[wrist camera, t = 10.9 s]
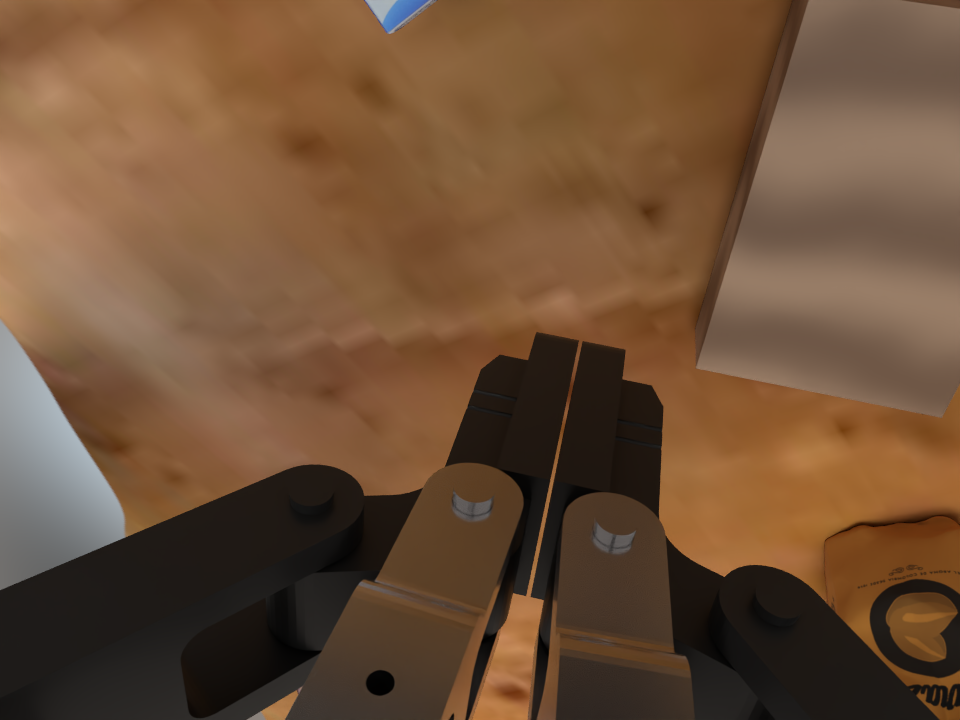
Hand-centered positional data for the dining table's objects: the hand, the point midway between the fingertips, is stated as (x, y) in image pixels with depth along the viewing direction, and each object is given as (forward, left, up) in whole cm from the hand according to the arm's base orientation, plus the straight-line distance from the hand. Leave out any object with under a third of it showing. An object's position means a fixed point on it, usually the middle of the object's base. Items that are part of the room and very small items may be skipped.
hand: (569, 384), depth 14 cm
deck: (+6, +12, -29) cm, 32 cm away
